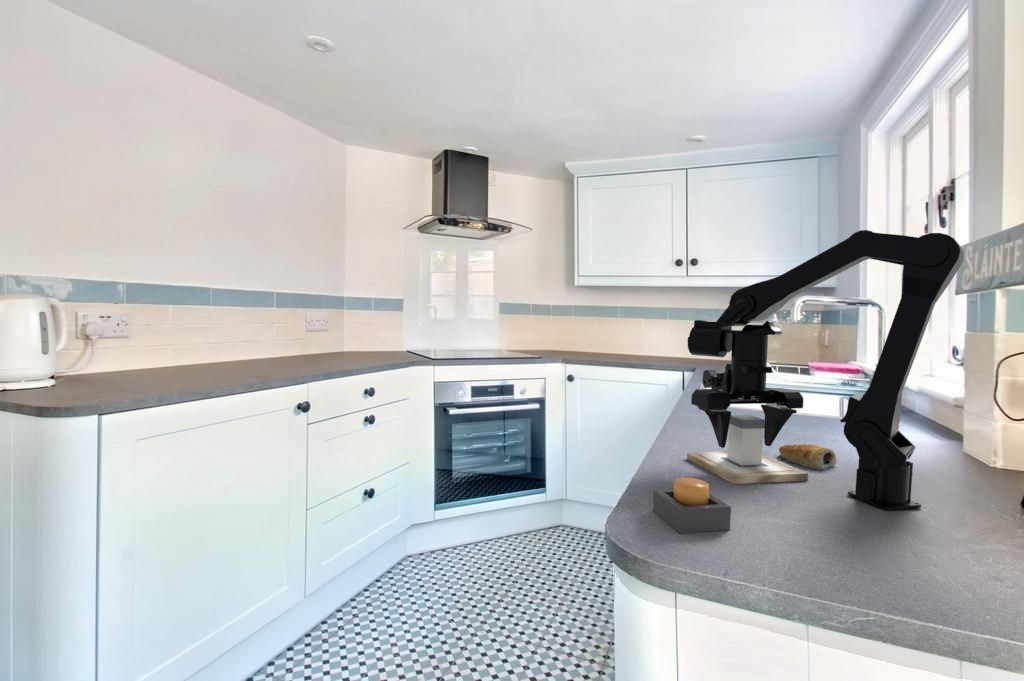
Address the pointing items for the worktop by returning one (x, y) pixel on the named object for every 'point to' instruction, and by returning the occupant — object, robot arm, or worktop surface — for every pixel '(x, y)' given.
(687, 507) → the button housing
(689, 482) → the button
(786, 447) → the pastry
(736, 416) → the two-tone grey block
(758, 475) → the picture frame
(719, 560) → the worktop surface
